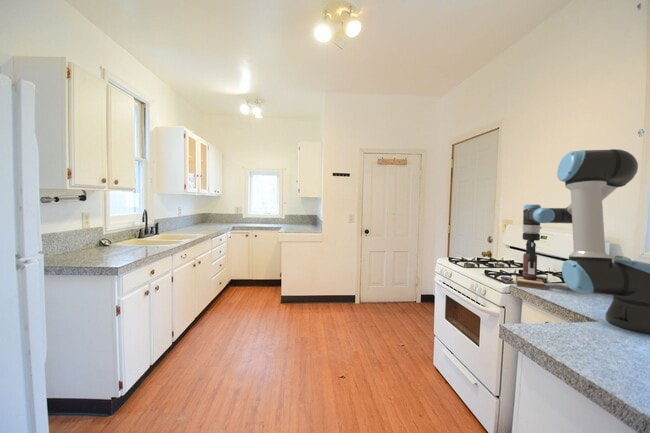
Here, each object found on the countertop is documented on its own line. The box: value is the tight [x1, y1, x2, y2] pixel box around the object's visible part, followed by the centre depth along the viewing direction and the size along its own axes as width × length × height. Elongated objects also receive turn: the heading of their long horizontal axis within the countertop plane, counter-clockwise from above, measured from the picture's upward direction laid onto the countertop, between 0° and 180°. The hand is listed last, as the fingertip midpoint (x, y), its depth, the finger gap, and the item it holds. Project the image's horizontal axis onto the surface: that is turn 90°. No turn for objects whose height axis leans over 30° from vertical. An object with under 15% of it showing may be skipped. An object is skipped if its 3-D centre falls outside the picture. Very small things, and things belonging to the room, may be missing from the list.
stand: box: [515, 276, 546, 291], centre depth 151 cm, size 12×12×3 cm
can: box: [522, 252, 538, 280], centre depth 152 cm, size 6×6×14 cm
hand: (529, 271), depth 151 cm, fingers open, 13 cm apart
